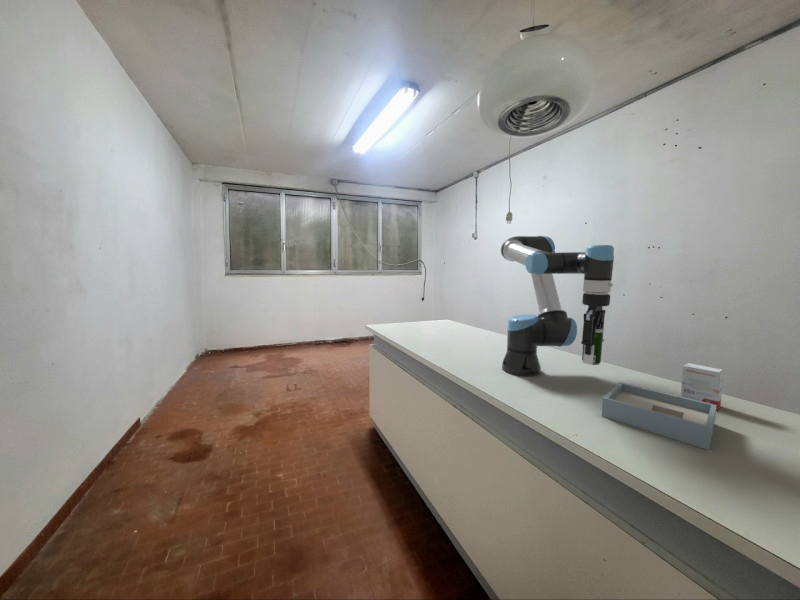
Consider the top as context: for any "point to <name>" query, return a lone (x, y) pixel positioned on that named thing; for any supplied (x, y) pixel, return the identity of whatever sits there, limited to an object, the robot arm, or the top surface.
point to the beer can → (597, 346)
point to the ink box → (702, 383)
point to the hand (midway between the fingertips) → (591, 361)
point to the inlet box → (661, 413)
